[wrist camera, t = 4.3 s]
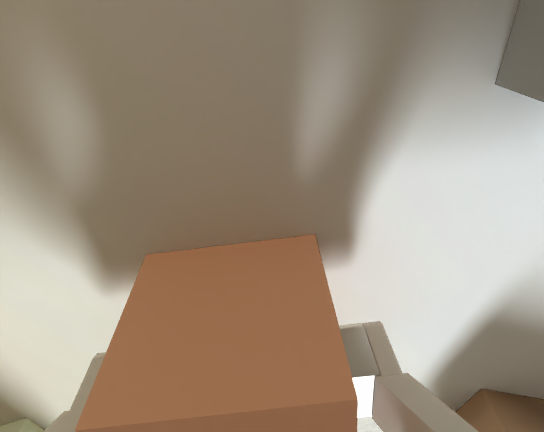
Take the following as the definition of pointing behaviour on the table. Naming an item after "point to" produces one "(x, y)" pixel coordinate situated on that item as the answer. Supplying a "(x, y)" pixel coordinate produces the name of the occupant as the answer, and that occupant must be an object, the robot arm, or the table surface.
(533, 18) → the slate grey cube
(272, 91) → the table surface
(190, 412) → the terracotta cube
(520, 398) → the walnut cube
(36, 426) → the sage cube
